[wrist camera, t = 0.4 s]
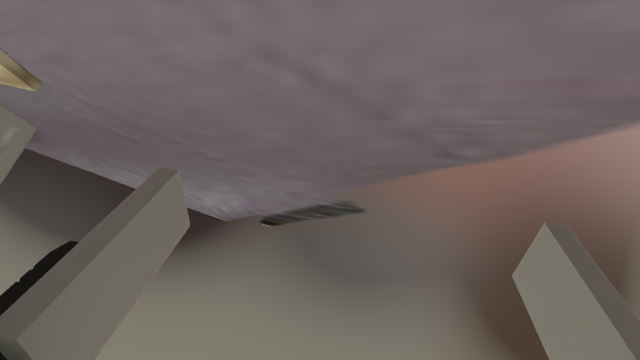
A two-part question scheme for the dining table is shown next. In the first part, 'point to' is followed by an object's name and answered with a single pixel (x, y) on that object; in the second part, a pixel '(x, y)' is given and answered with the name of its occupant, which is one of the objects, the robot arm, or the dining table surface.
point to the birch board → (16, 74)
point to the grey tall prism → (12, 139)
